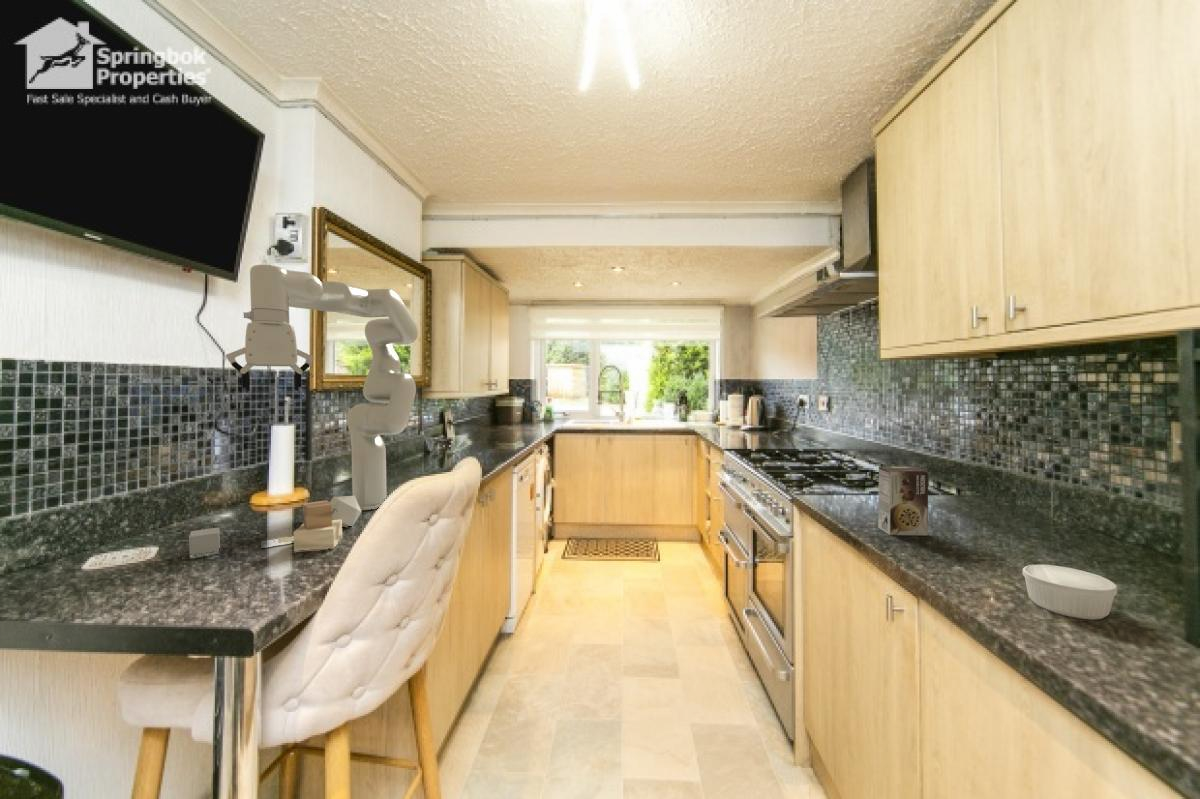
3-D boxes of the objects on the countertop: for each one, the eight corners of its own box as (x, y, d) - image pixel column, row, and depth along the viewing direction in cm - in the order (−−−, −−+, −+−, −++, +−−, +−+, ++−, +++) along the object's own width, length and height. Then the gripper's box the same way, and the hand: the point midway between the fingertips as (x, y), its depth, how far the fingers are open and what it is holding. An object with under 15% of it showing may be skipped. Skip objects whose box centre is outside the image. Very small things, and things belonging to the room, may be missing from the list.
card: (260, 542, 114) (260, 540, 114) (299, 536, 119) (299, 534, 119) (260, 549, 110) (260, 547, 110) (301, 542, 114) (301, 540, 114)
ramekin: (1004, 593, 86) (1005, 564, 85) (1063, 591, 86) (1063, 562, 86) (1070, 625, 74) (1071, 591, 74) (1137, 622, 75) (1138, 589, 75)
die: (321, 528, 128) (313, 504, 122) (346, 505, 134) (340, 482, 129) (344, 541, 126) (338, 518, 120) (370, 518, 133) (364, 495, 127)
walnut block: (303, 524, 112) (303, 503, 112) (327, 520, 116) (327, 500, 116) (307, 529, 109) (306, 507, 108) (332, 525, 112) (331, 504, 112)
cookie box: (914, 528, 124) (915, 466, 123) (928, 536, 117) (930, 470, 117) (876, 527, 124) (877, 465, 124) (889, 535, 118) (890, 470, 117)
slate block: (191, 553, 108) (191, 531, 107) (220, 548, 110) (219, 527, 110) (189, 559, 103) (188, 537, 103) (219, 555, 106) (218, 532, 106)
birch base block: (305, 542, 115) (304, 522, 115) (342, 539, 117) (341, 519, 117) (294, 554, 107) (293, 532, 107) (333, 550, 109) (333, 529, 109)
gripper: (224, 314, 106) (226, 391, 107) (314, 319, 116) (316, 390, 117) (225, 317, 112) (227, 391, 113) (311, 323, 123) (312, 390, 123)
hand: (272, 390), depth 115 cm, fingers open, 9 cm apart
